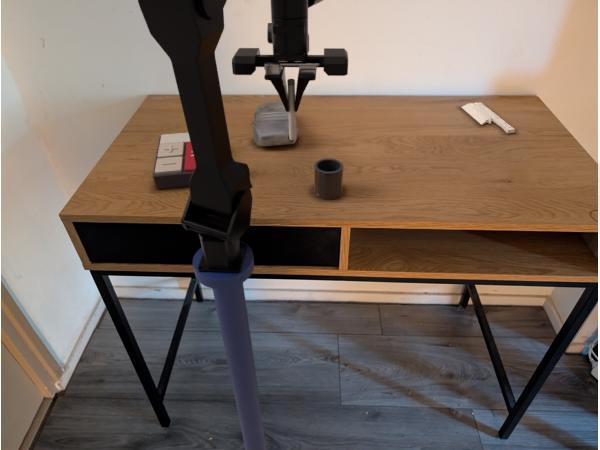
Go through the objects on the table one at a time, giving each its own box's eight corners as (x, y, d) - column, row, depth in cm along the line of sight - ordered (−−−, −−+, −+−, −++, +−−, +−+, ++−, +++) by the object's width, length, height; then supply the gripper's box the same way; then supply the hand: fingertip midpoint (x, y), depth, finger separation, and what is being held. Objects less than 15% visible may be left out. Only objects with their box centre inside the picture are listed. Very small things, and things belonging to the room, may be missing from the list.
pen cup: (342, 200, 76) (343, 173, 73) (313, 199, 76) (313, 172, 73) (342, 184, 80) (343, 158, 77) (314, 183, 80) (314, 157, 77)
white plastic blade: (492, 135, 94) (493, 130, 94) (461, 107, 106) (462, 103, 105) (514, 132, 95) (515, 128, 94) (480, 105, 106) (481, 101, 106)
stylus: (295, 140, 79) (294, 81, 73) (288, 140, 80) (287, 81, 73) (296, 137, 80) (294, 78, 74) (289, 137, 80) (287, 78, 74)
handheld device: (289, 109, 107) (289, 91, 104) (300, 149, 91) (300, 128, 88) (250, 112, 106) (248, 94, 103) (255, 152, 90) (253, 132, 87)
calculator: (151, 173, 77) (158, 131, 88) (156, 192, 80) (163, 150, 91) (213, 167, 78) (212, 127, 89) (216, 186, 81) (215, 145, 92)
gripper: (348, 4, 73) (343, 94, 82) (238, 4, 74) (246, 93, 83) (350, 20, 64) (345, 118, 74) (226, 20, 65) (236, 117, 75)
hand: (291, 110), depth 77 cm, fingers closed on stylus, 1 cm apart
